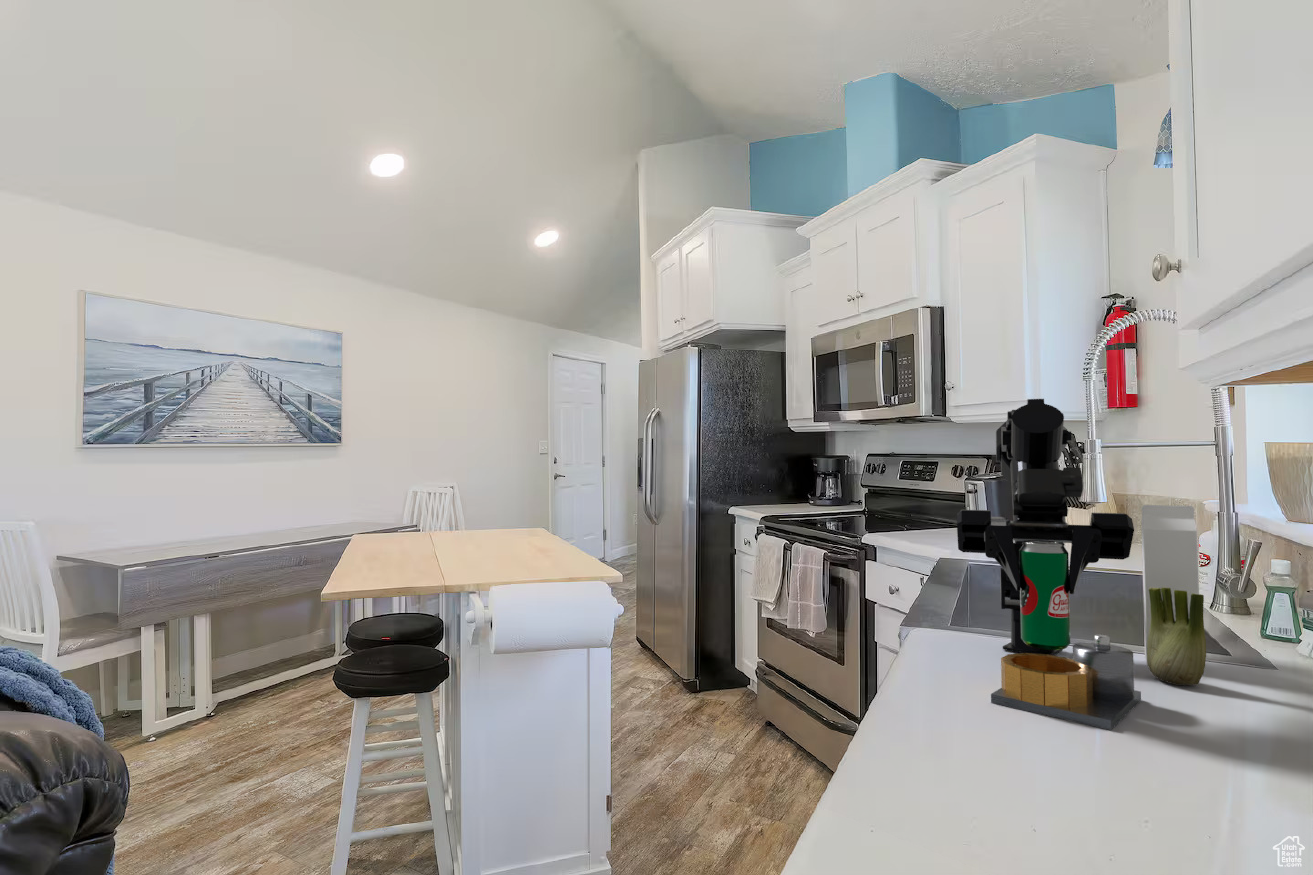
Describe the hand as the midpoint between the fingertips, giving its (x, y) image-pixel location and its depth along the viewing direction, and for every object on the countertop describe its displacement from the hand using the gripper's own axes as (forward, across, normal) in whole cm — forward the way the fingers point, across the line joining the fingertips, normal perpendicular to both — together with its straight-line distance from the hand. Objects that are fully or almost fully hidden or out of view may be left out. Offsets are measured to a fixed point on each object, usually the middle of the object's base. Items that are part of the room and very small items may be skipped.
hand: (1044, 590), depth 81 cm
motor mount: (+7, +2, +11) cm, 14 cm away
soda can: (+4, 0, +6) cm, 7 cm away
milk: (-9, +17, +29) cm, 35 cm away
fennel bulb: (-2, +15, +21) cm, 26 cm away
